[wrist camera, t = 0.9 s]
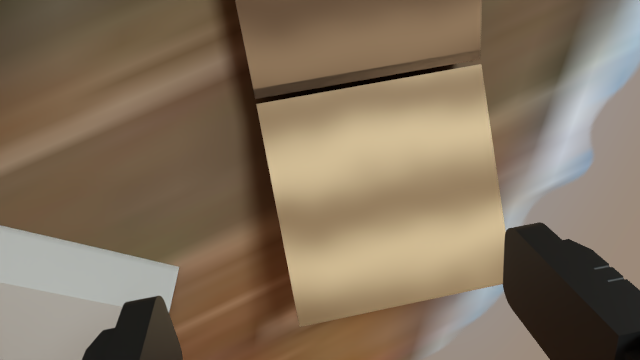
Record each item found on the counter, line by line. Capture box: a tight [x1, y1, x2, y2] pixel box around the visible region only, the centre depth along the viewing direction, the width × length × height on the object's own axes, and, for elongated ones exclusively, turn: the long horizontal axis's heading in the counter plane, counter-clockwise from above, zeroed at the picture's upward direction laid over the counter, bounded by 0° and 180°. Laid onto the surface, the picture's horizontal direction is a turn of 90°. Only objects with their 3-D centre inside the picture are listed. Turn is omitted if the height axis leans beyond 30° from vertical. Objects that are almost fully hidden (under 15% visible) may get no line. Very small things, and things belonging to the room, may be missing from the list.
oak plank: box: [256, 64, 506, 327], centre depth 31 cm, size 14×14×3 cm
